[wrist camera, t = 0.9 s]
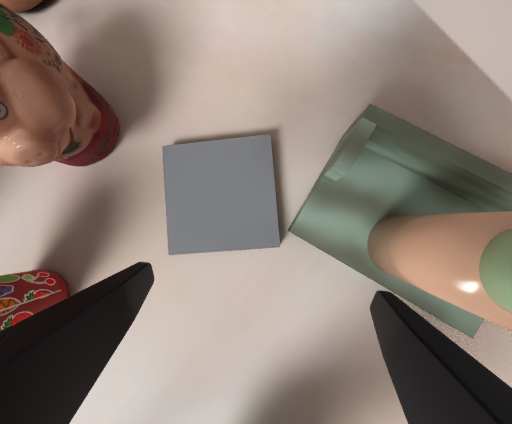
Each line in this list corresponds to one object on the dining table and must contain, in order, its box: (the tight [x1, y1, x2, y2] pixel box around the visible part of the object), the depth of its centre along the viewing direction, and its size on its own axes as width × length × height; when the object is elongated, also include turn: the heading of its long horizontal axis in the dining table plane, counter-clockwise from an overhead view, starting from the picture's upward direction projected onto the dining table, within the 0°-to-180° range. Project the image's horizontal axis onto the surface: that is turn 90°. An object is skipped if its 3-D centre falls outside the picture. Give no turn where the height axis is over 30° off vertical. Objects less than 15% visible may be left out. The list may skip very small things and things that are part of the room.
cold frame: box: [288, 104, 512, 338], centre depth 19 cm, size 13×21×6 cm, turn 60°
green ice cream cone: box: [367, 211, 512, 331], centre depth 14 cm, size 6×6×13 cm
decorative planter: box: [0, 3, 118, 167], centre depth 19 cm, size 20×12×14 cm, turn 44°
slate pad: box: [162, 134, 280, 255], centre depth 23 cm, size 13×13×2 cm
